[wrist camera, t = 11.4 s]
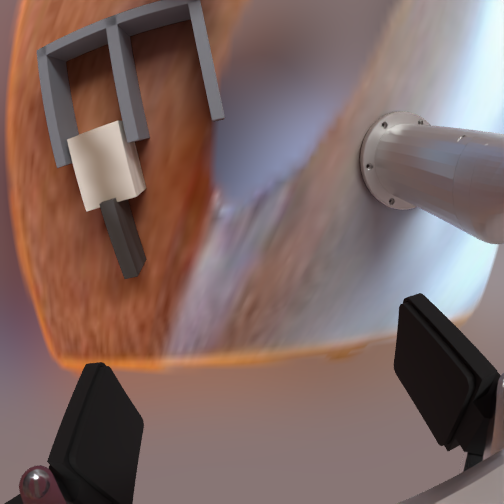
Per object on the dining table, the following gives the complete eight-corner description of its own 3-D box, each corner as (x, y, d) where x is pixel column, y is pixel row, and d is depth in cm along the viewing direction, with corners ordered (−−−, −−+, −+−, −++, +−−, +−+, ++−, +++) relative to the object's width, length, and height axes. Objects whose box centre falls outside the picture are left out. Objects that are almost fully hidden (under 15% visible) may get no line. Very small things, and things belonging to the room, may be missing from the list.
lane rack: (200, 8, 27) (198, -9, 22) (224, 119, 32) (224, 117, 28) (56, 57, 26) (36, 50, 22) (76, 162, 32) (57, 168, 27)
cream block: (130, 121, 31) (114, 120, 26) (164, 252, 37) (156, 272, 32) (83, 137, 31) (62, 140, 26) (120, 262, 37) (107, 282, 32)
